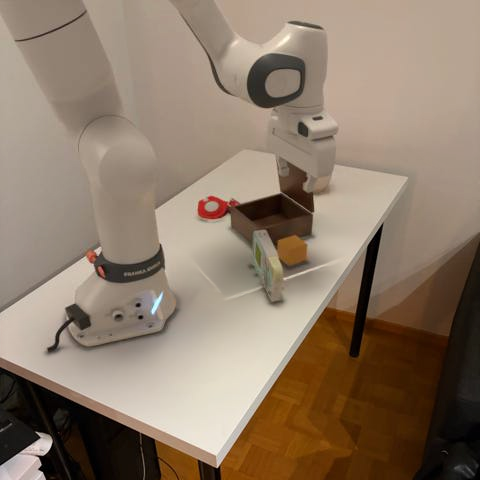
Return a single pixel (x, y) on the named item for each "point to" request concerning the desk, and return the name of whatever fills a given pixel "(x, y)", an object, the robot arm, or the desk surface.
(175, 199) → the desk surface
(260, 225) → the chest
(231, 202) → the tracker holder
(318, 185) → the trinket box
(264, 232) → the handheld gaming console
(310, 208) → the lid
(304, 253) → the block
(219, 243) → the desk surface
